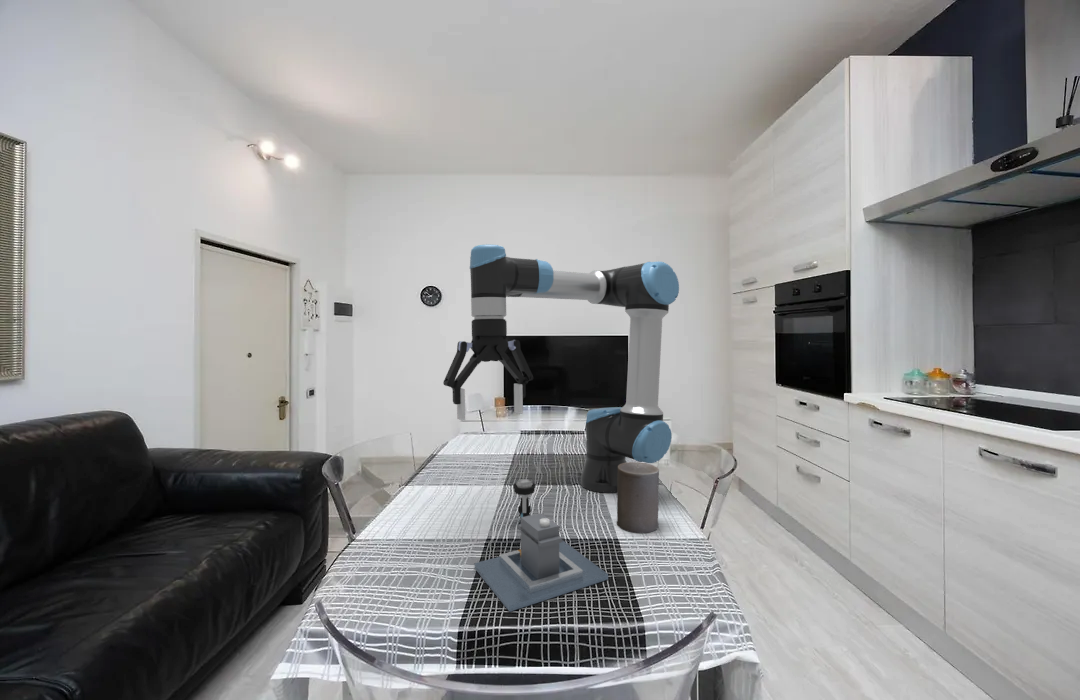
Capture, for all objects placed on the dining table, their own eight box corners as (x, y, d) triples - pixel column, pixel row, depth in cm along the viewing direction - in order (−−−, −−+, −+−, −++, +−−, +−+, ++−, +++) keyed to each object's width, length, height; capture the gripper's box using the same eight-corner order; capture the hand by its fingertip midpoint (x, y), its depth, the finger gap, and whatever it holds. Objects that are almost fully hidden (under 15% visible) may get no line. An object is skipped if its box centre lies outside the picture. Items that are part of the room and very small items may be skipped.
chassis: (561, 544, 98) (561, 534, 98) (608, 579, 84) (608, 567, 84) (474, 567, 88) (473, 556, 88) (509, 612, 74) (509, 598, 74)
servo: (538, 555, 91) (538, 506, 91) (562, 576, 83) (562, 522, 83) (518, 561, 89) (518, 510, 89) (541, 583, 81) (541, 527, 81)
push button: (535, 529, 106) (535, 486, 106) (512, 529, 106) (512, 486, 106) (535, 517, 113) (535, 477, 112) (514, 517, 113) (513, 477, 112)
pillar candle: (608, 525, 108) (609, 462, 107) (630, 512, 115) (631, 454, 114) (645, 537, 101) (646, 471, 101) (666, 524, 108) (667, 461, 108)
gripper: (530, 318, 108) (532, 408, 109) (426, 318, 95) (429, 419, 96) (547, 317, 102) (548, 412, 102) (438, 317, 89) (440, 425, 90)
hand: (490, 416), depth 99 cm, fingers open, 13 cm apart
